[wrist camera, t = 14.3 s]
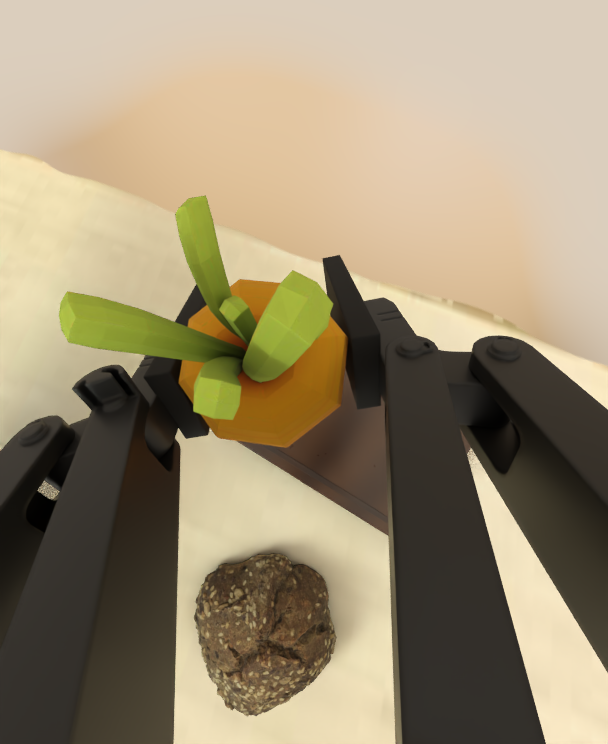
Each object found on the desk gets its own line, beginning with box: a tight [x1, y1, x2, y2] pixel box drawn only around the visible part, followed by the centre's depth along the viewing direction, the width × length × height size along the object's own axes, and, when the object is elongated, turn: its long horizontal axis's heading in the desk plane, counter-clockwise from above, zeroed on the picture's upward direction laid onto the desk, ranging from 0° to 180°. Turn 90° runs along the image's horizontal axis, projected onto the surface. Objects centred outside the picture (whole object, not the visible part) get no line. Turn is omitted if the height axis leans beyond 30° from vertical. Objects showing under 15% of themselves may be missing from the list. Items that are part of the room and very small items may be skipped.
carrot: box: [59, 196, 348, 448], centre depth 11 cm, size 5×5×15 cm
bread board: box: [237, 368, 471, 536], centre depth 28 cm, size 22×14×2 cm, turn 60°
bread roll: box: [194, 553, 337, 716], centre depth 26 cm, size 13×12×5 cm
